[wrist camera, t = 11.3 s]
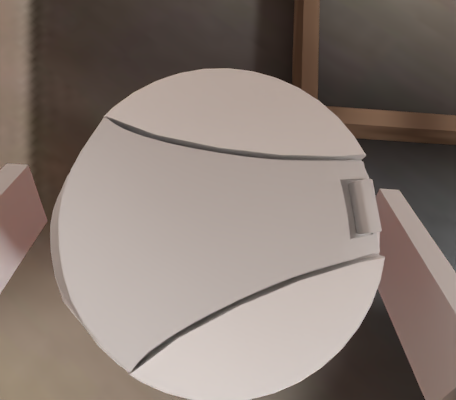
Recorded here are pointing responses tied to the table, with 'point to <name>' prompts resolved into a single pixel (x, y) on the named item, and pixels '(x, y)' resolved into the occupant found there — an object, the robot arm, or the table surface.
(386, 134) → the walnut frame
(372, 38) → the table surface
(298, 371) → the paper cup
